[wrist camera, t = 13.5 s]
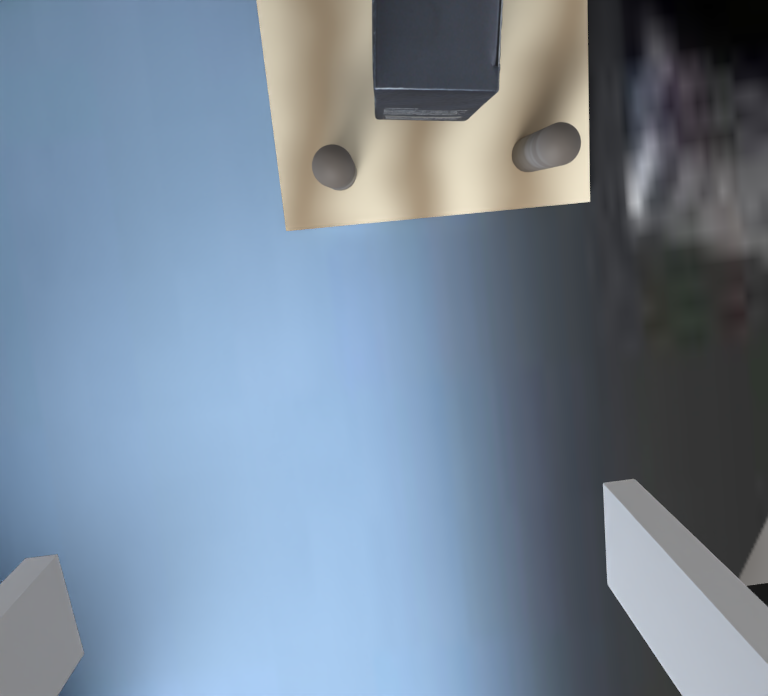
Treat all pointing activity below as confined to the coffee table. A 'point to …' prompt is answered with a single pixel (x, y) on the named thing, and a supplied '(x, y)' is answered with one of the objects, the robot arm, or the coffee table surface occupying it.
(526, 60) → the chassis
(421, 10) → the box
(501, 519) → the coffee table surface
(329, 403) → the coffee table surface
